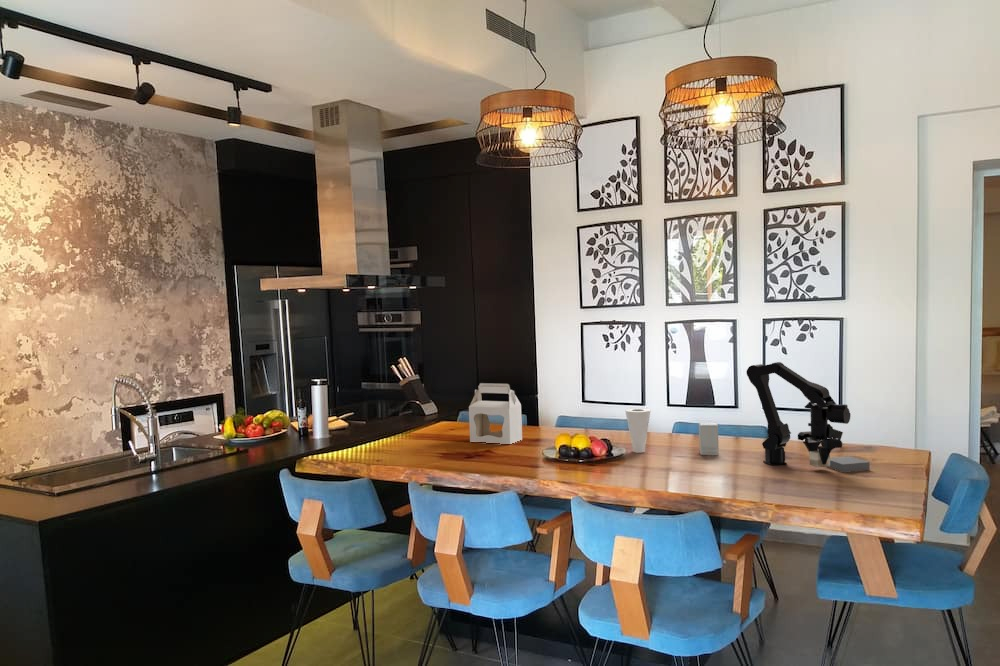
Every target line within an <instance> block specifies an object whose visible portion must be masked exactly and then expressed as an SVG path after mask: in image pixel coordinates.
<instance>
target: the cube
mask: <svg viewBox="0 0 1000 666" xmlns="http://www.w3.org/2000/svg"><path fill="white" fill-rule="evenodd" d="M808 453H809V466H813V467H815V468H828V467H830V458H831V453H830V454H829V457H828V459H827V462H826V464H822V461H821V457H820V454H819V450H818V451H808Z"/></svg>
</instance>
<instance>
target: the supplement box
mask: <svg viewBox="0 0 1000 666" xmlns="http://www.w3.org/2000/svg"><path fill="white" fill-rule="evenodd" d="M698 439H699V440H698V442H699V443H698V446H699V448H698V449H699V453H700V455H701V456H719V455H720V452H719V449H720V448H719V425H718V423H717V422H698Z"/></svg>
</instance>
